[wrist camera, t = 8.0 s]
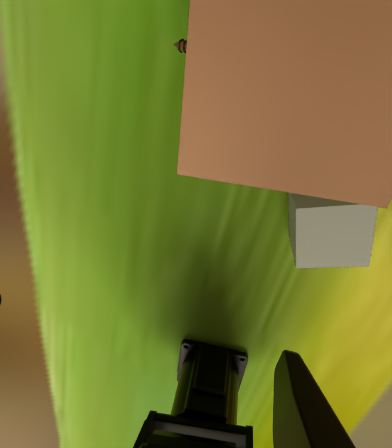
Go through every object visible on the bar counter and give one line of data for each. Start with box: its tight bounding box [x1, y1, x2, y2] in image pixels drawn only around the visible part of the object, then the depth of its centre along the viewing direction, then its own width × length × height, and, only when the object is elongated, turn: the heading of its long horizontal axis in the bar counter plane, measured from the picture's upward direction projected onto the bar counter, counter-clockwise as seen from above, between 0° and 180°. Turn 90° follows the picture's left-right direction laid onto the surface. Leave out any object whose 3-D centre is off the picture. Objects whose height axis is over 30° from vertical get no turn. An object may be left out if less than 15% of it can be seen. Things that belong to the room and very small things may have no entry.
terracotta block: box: [177, 0, 392, 208], centre depth 7 cm, size 5×5×4 cm
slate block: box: [288, 192, 378, 268], centre depth 18 cm, size 4×4×4 cm
